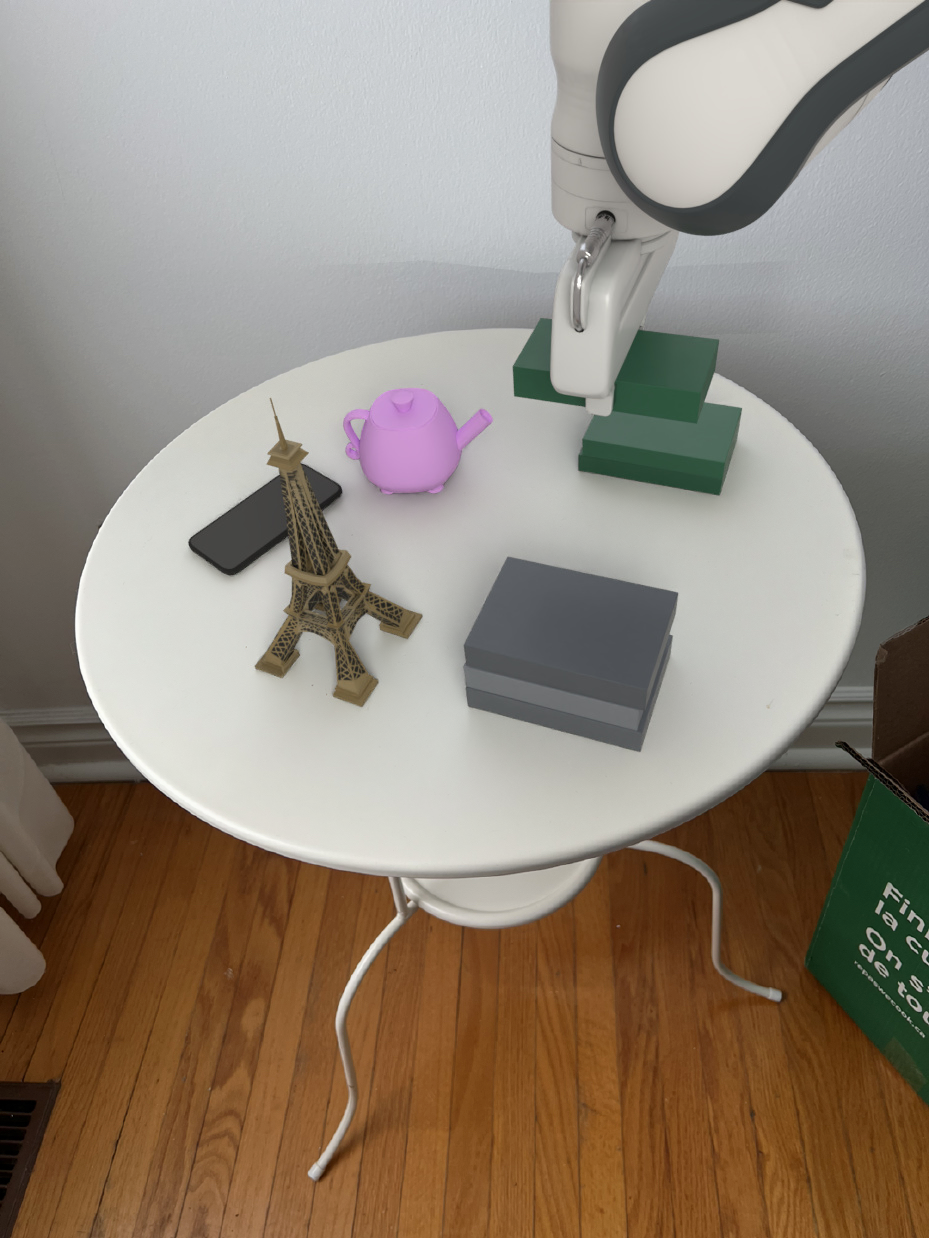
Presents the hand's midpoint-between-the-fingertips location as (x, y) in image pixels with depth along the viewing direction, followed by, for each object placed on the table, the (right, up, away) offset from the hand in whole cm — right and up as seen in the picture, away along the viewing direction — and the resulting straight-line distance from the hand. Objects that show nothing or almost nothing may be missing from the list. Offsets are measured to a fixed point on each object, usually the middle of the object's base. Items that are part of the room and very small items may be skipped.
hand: (615, 377), depth 65 cm
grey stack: (-2, -22, +9) cm, 24 cm away
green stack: (+9, -1, +27) cm, 28 cm away
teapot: (-15, -3, +28) cm, 32 cm away
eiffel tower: (-21, -19, +14) cm, 32 cm away
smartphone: (-30, -8, +25) cm, 40 cm away
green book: (0, 0, 0) cm, 1 cm away
